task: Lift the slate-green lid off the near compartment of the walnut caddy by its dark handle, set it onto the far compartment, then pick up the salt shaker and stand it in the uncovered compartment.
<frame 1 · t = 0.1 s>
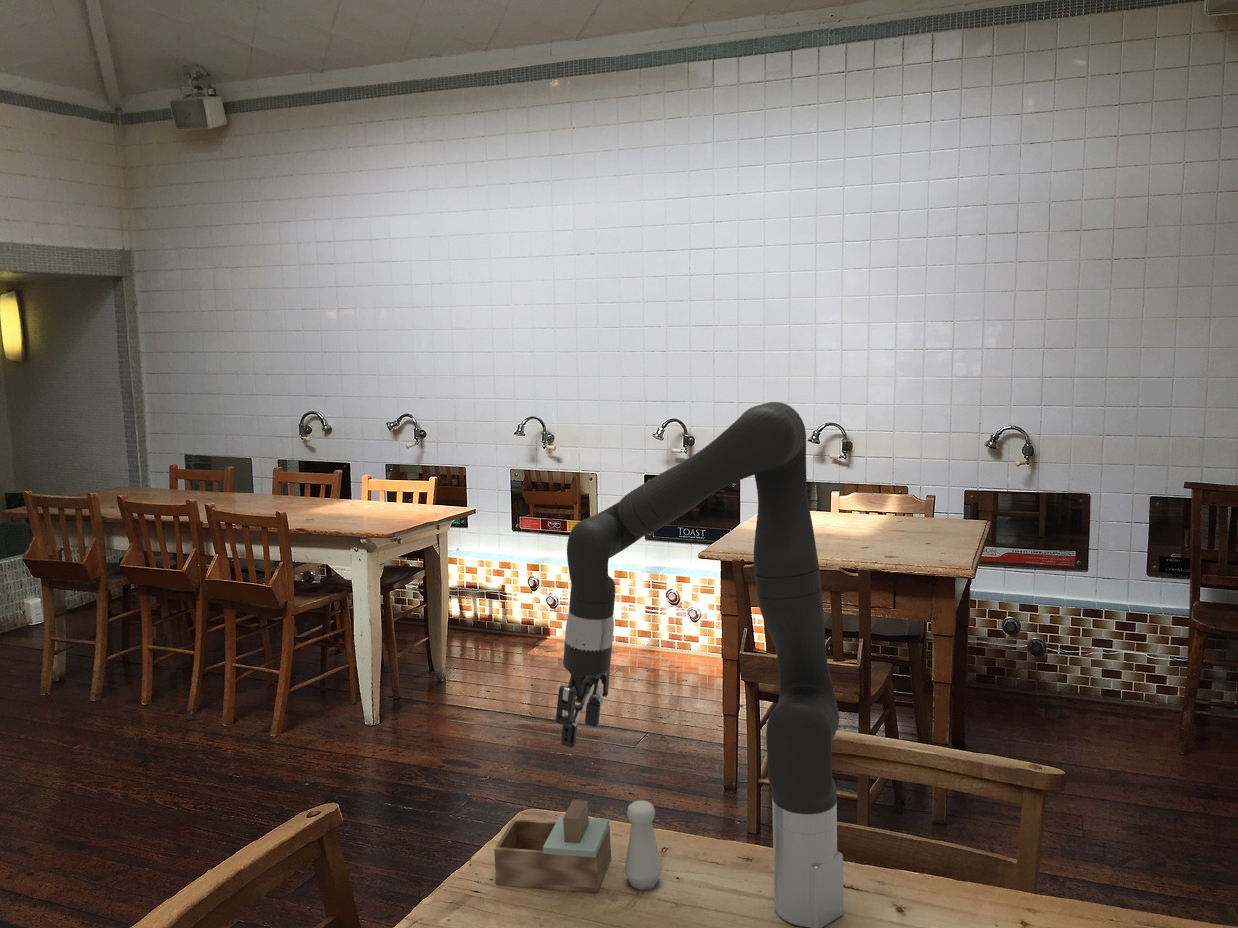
hand: (580, 734, 150), 22 cm above the table, tool pointing down, fingers open, 8 cm apart
caddy: (554, 871, 152), on the table
salt shaker: (643, 883, 148), on the table
lid: (577, 838, 150), point 6 cm above the table, touching caddy
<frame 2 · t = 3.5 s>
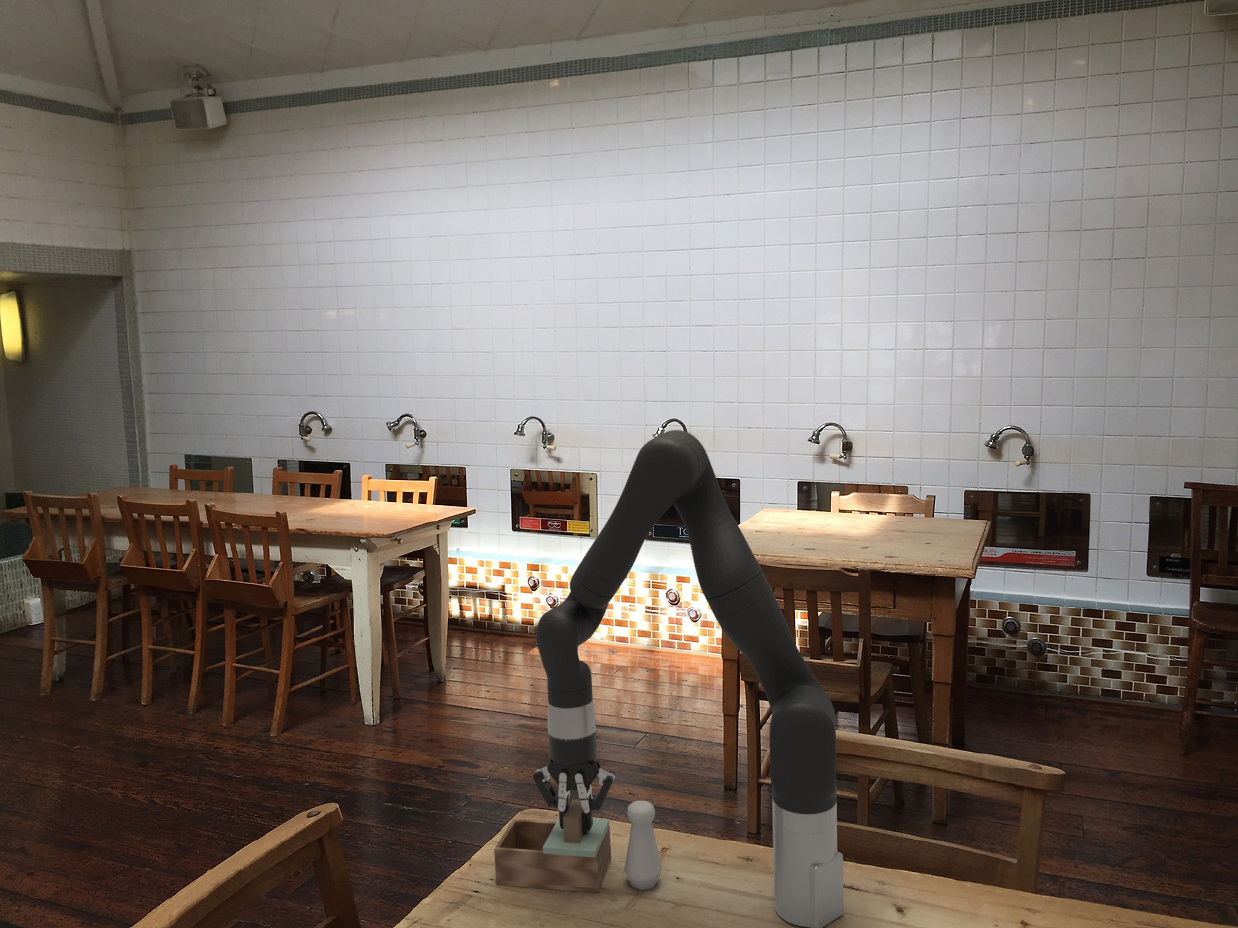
hand: (576, 830, 150), 7 cm above the table, tool pointing down, fingers closed on lid, 2 cm apart
lid: (577, 838, 150), point 6 cm above the table, touching caddy, gripper
everything else where it was.
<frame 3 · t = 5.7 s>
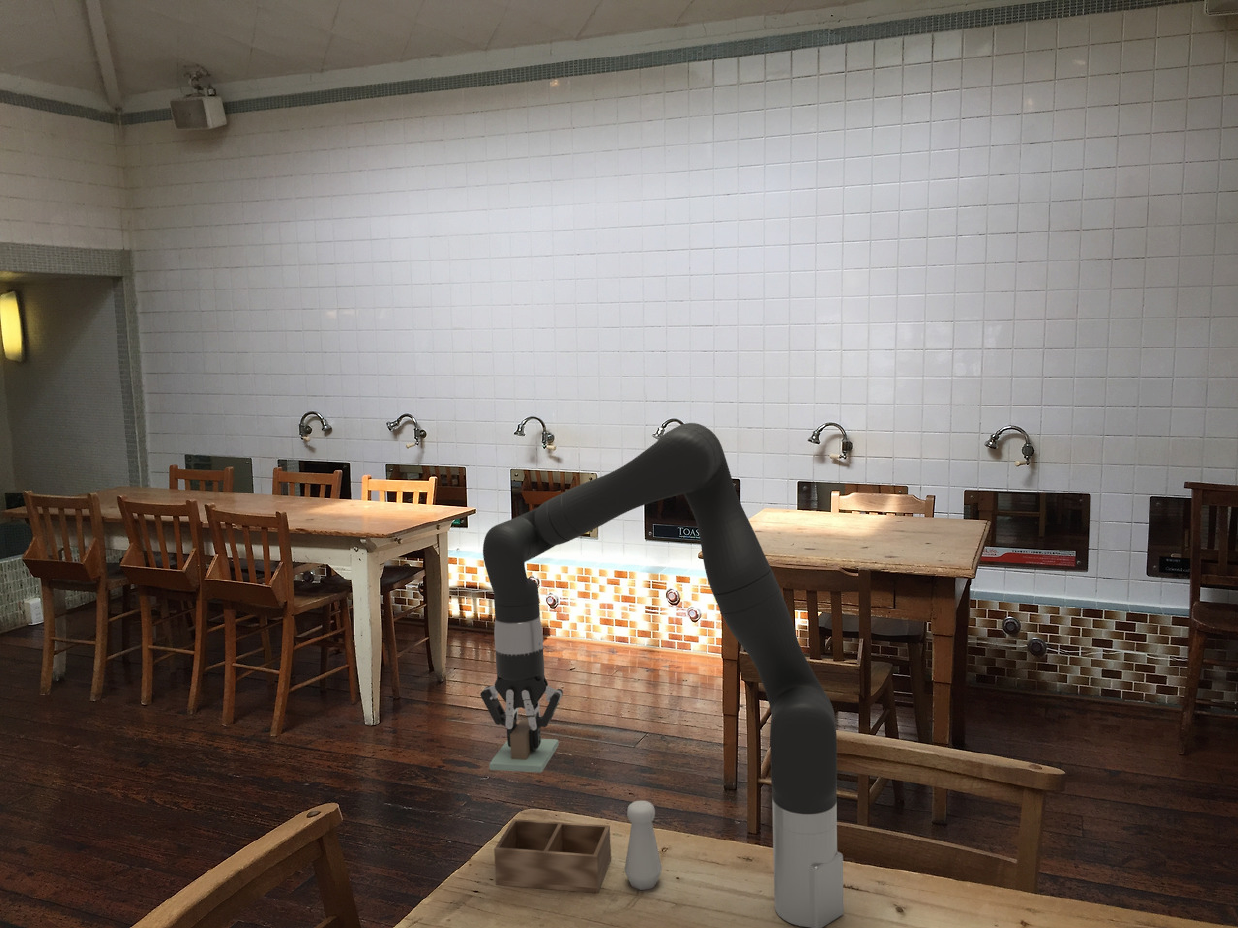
hand: (524, 748, 150), 21 cm above the table, tool pointing down, fingers closed on lid, 2 cm apart
lid: (525, 757, 150), point 19 cm above the table, touching gripper
everything else where it was.
when the fingers open (9 cm above the table, at t = 8.0 s): lid drops 2 cm, resting on caddy.
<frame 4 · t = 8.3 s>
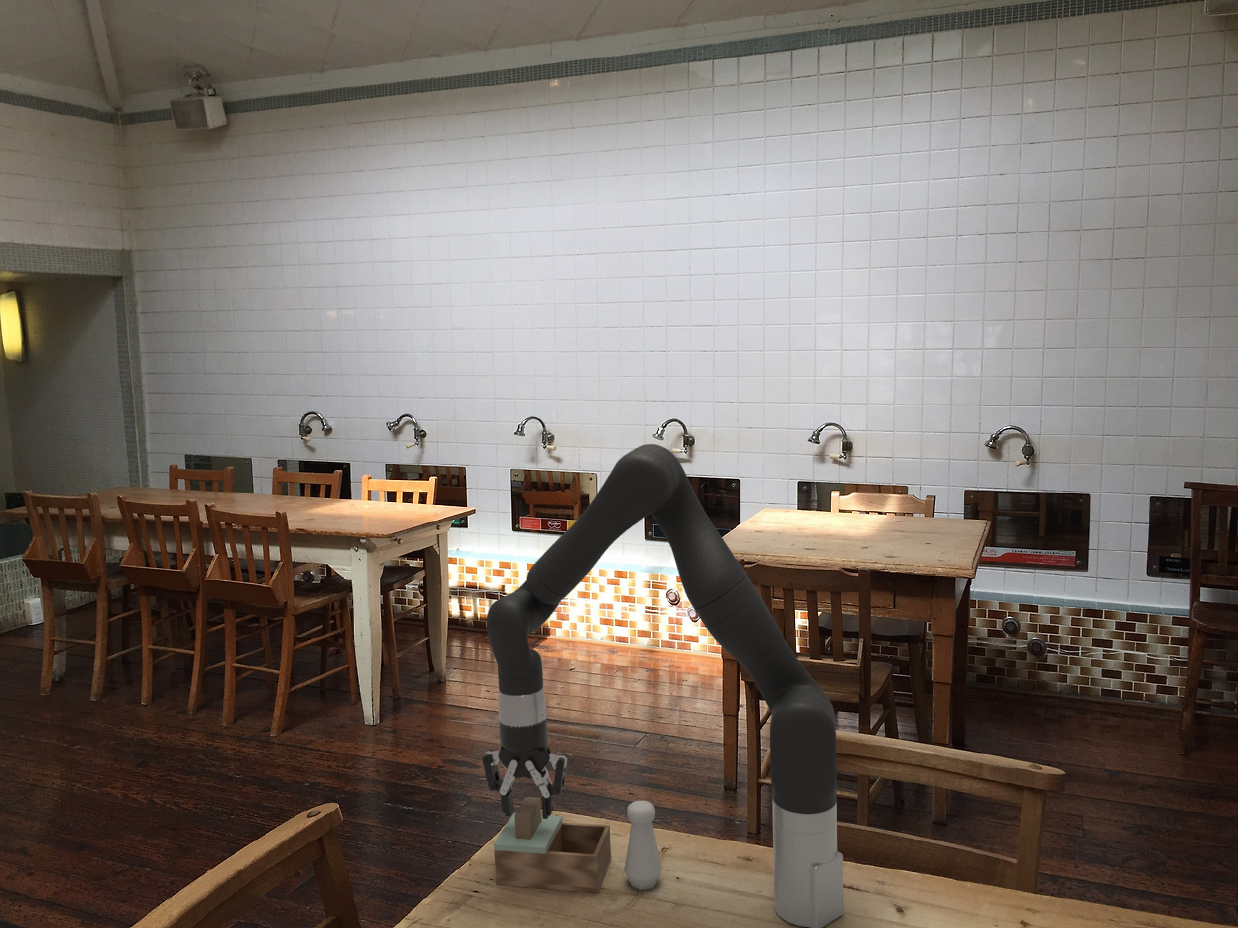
hand: (528, 814, 151), 9 cm above the table, tool pointing down, fingers open, 5 cm apart
lid: (529, 835, 152), point 6 cm above the table, touching caddy
everything else where it was.
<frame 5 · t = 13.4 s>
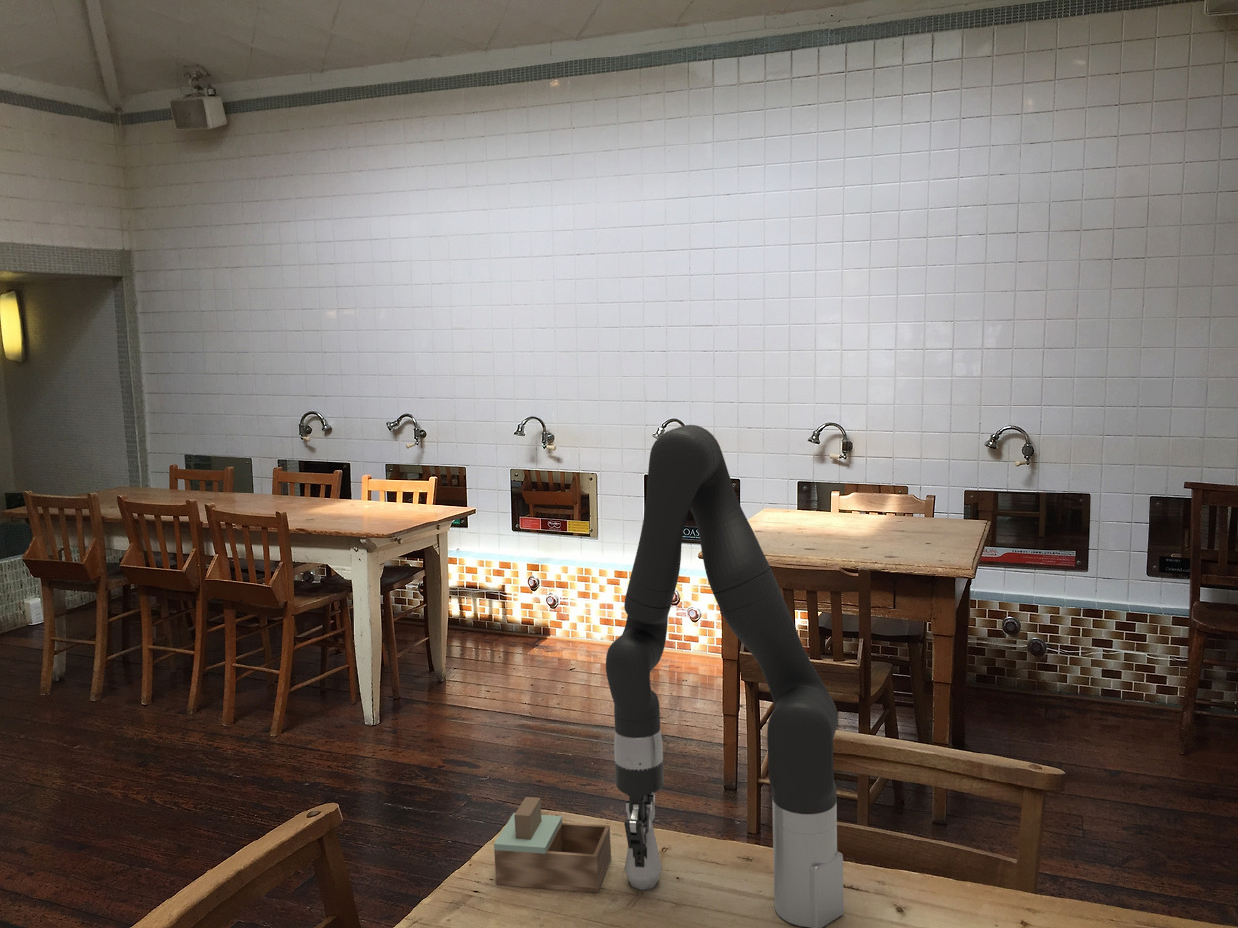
hand: (642, 860, 147), 4 cm above the table, tool pointing down, fingers closed on salt shaker, 3 cm apart
salt shaker: (643, 883, 148), on the table, touching gripper
everything else where it was.
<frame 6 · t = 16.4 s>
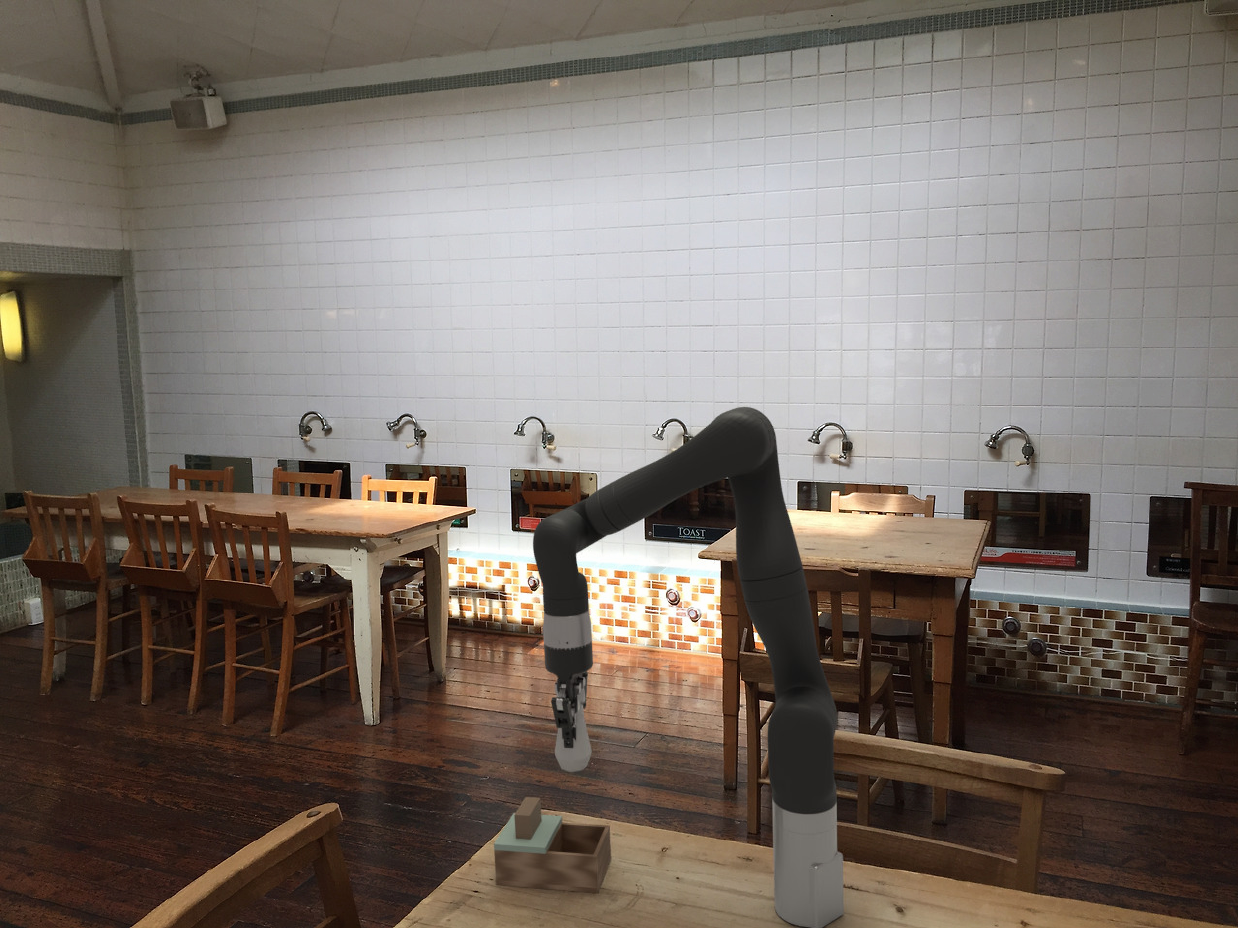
hand: (573, 743, 148), 22 cm above the table, tool pointing down, fingers closed on salt shaker, 3 cm apart
salt shaker: (574, 767, 149), point 18 cm above the table, touching gripper
everything else where it was.
when the fingers open (7 cm above the table, at t = 19.4 s): salt shaker stays where it is, resting on caddy.
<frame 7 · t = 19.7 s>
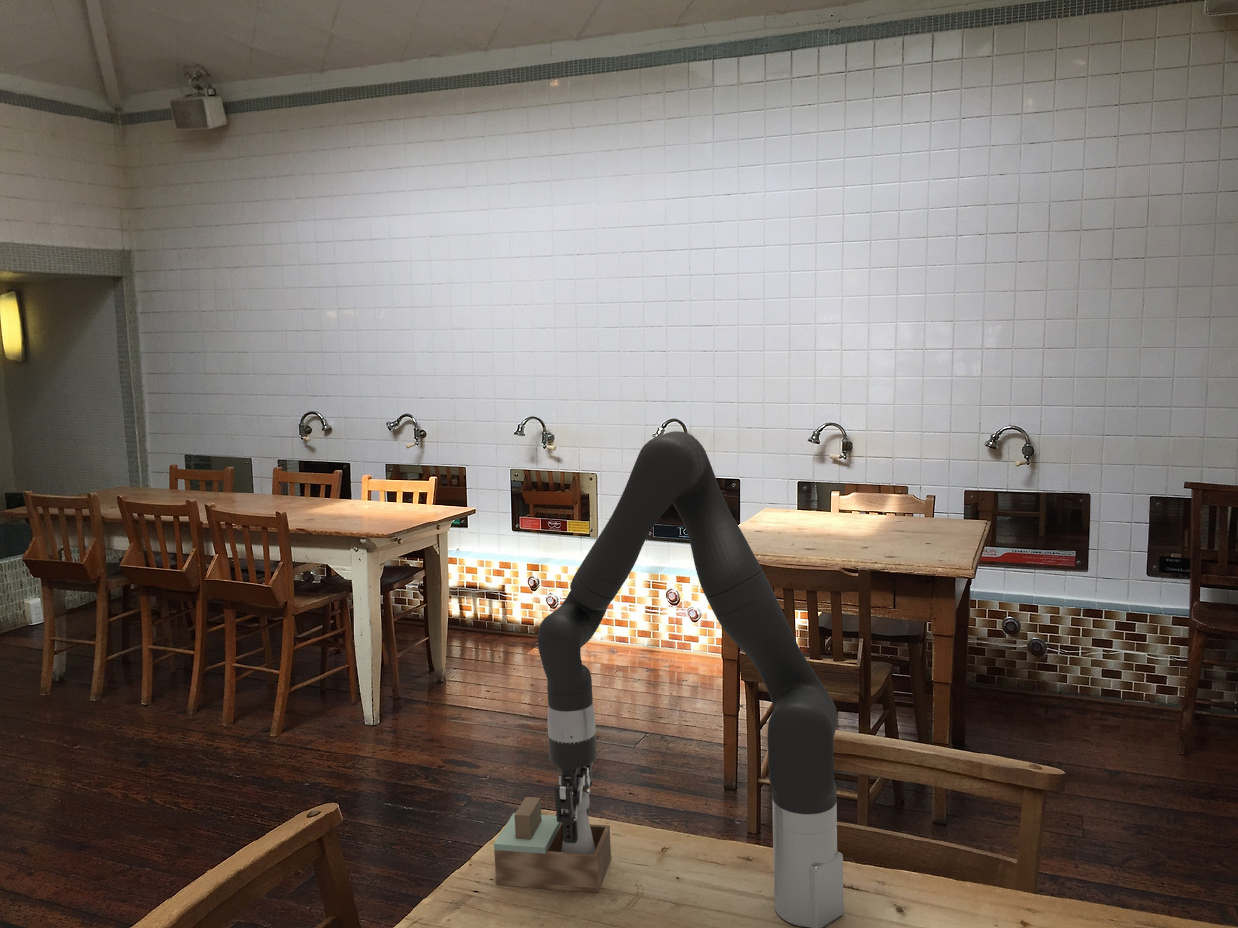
hand: (576, 829, 150), 8 cm above the table, tool pointing down, fingers open, 7 cm apart
salt shaker: (579, 871, 150), point 1 cm above the table, touching caddy
everything else where it was.
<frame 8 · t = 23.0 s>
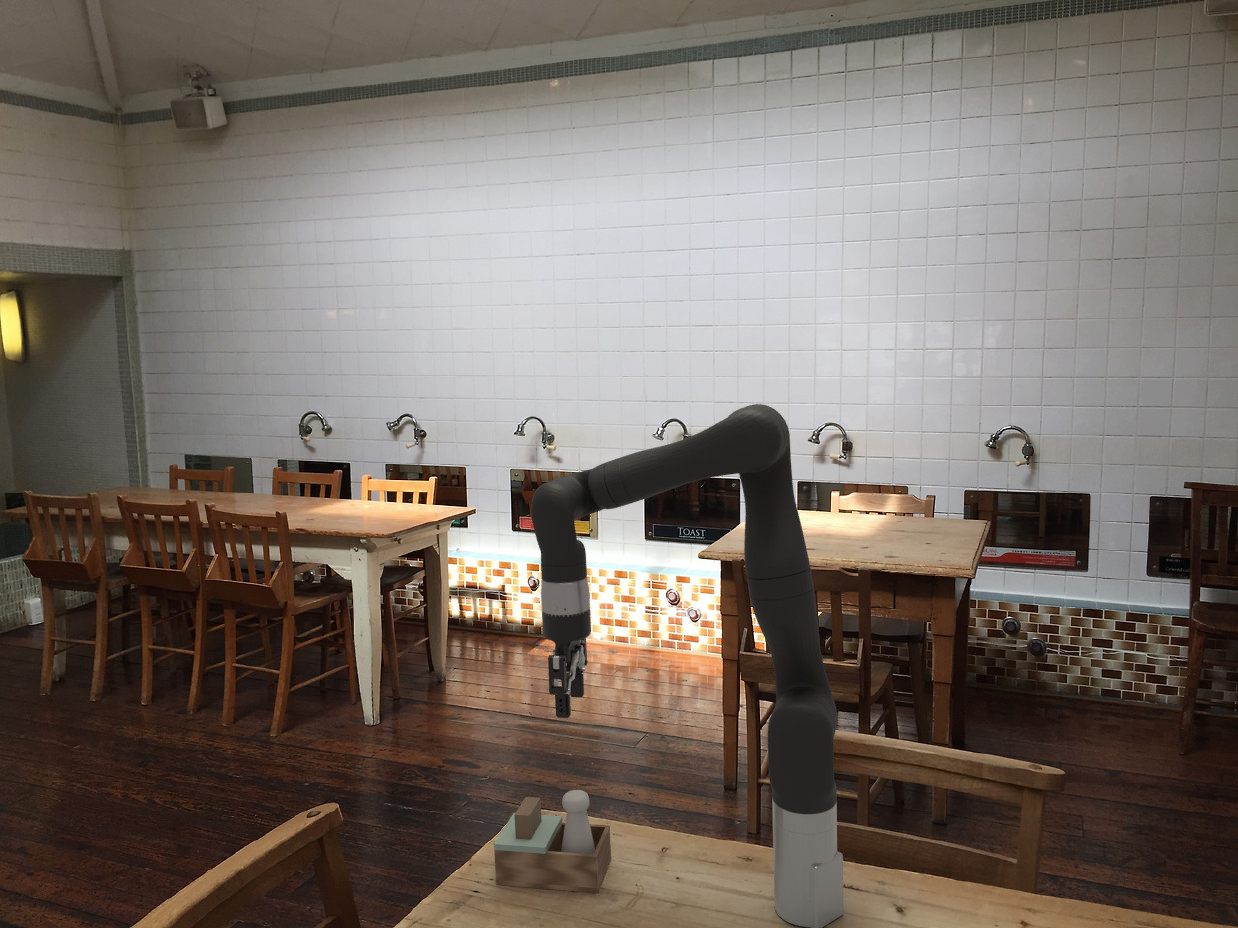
hand: (570, 706, 147), 28 cm above the table, tool pointing down, fingers open, 8 cm apart
nothing on the table moved.
at the end: salt shaker 0.3 cm from the target spot, point 0.6 cm above the table; salt shaker tilted 0°; lid 0.0 cm from the target spot, point 6.0 cm above the table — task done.
